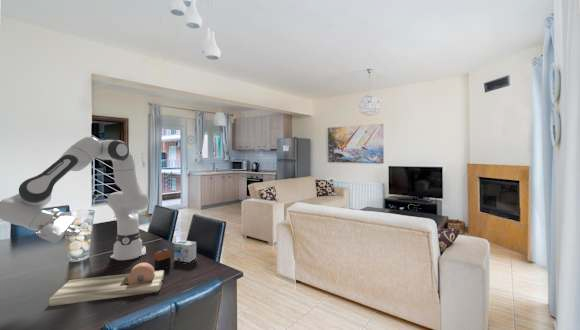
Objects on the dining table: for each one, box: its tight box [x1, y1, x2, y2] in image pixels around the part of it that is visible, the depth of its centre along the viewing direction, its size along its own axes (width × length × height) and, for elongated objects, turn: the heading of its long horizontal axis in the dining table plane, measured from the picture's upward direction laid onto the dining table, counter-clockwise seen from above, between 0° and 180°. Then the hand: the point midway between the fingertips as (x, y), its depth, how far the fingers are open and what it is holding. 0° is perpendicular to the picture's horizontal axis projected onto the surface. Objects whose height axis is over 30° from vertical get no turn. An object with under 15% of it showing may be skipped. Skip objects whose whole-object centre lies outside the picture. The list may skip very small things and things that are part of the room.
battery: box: [154, 248, 171, 271], centre depth 145 cm, size 4×7×10 cm, turn 146°
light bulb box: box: [173, 239, 197, 262], centre depth 156 cm, size 11×7×11 cm, turn 71°
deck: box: [48, 269, 165, 307], centre depth 122 cm, size 17×40×3 cm, turn 108°
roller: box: [127, 262, 155, 285], centre depth 125 cm, size 6×10×10 cm
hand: (79, 233), depth 122 cm, fingers closed
